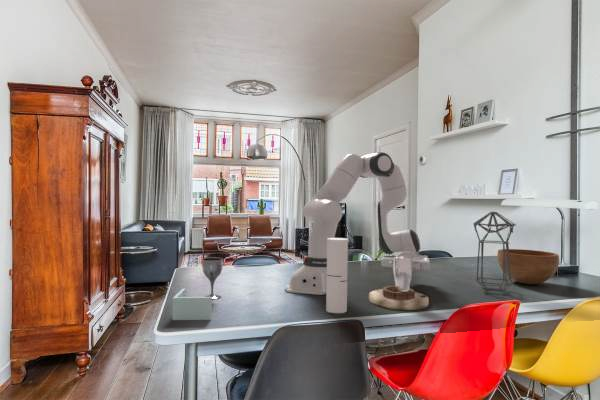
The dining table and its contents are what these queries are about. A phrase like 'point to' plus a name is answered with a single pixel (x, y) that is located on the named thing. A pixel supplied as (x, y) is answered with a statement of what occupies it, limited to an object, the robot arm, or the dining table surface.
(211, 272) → the wine glass
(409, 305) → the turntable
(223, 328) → the dining table surface
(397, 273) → the beer glass
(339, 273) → the cylindrical container
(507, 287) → the geometric lantern
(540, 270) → the bowl
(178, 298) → the right angle wall
